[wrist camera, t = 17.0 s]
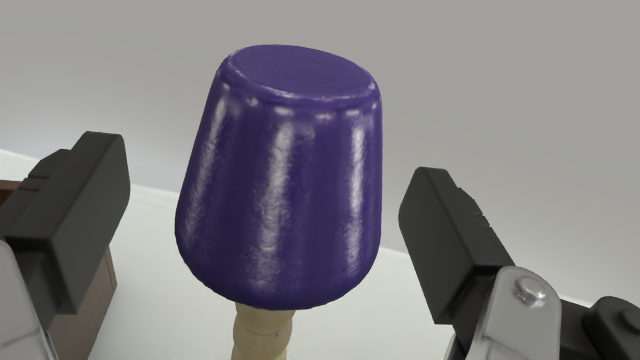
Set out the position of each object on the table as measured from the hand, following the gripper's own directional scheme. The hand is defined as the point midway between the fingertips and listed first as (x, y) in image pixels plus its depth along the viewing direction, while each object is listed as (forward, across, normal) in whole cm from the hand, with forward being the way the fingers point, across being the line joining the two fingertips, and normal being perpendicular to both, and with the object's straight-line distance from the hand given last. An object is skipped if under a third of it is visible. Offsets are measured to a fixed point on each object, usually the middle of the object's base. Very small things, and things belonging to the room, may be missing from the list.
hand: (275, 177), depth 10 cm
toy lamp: (-2, 0, +13) cm, 13 cm away
